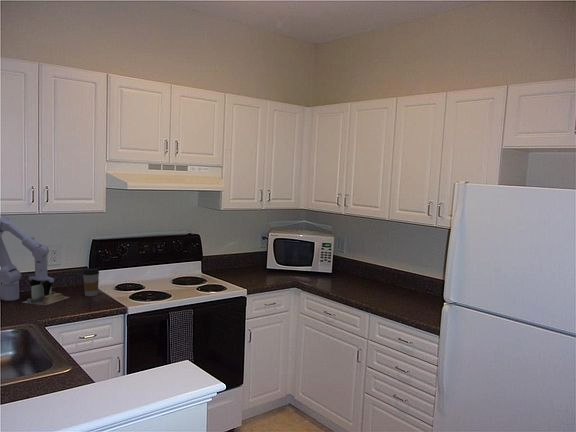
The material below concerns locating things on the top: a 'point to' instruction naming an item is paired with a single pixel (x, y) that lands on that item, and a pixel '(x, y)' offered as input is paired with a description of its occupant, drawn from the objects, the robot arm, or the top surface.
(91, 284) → the coffee cup
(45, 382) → the top surface
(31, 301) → the rack
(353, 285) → the top surface
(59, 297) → the offcut lower
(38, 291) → the sheet
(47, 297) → the offcut upper
